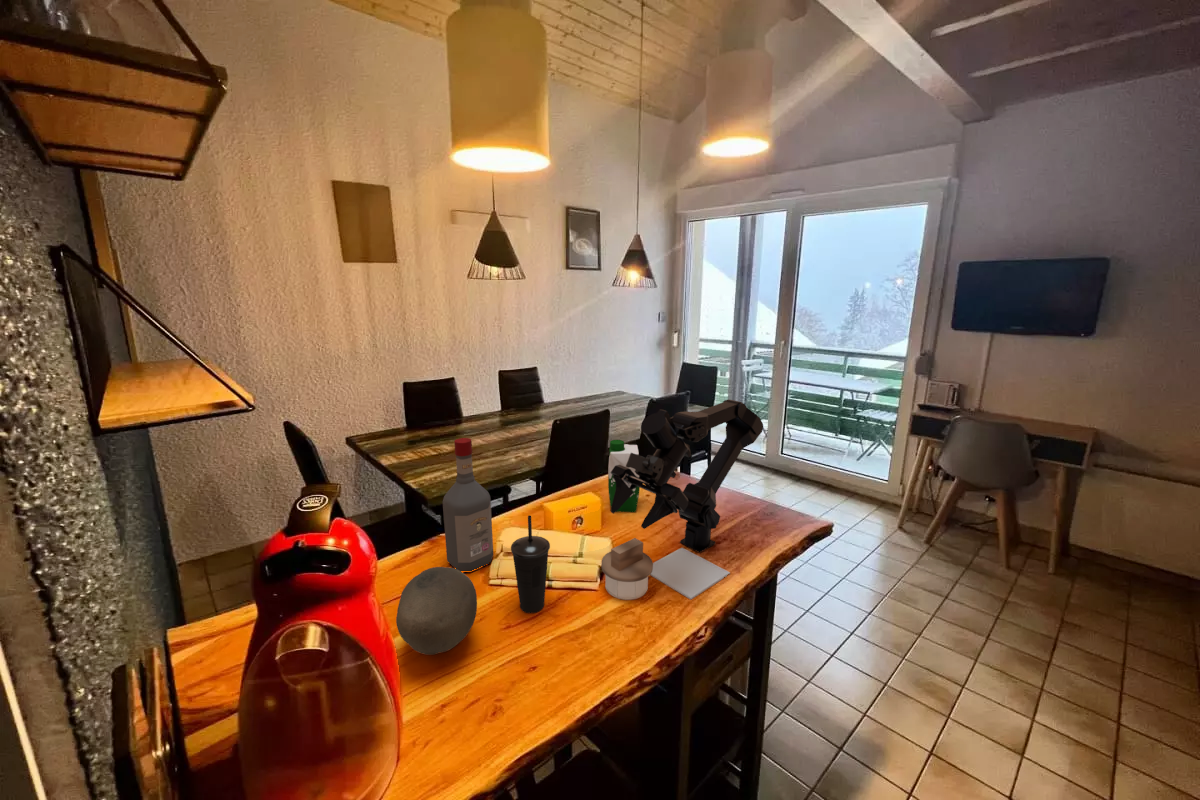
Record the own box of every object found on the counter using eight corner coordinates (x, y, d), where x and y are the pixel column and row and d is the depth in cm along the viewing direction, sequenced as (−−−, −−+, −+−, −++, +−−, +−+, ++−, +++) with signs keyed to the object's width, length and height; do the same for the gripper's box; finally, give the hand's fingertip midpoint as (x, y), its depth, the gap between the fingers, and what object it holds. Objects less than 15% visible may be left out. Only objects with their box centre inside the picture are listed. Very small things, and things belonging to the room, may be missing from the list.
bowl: (626, 570, 113) (627, 550, 112) (655, 588, 106) (656, 567, 105) (597, 585, 107) (597, 565, 106) (626, 606, 101) (626, 584, 99)
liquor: (498, 561, 116) (492, 440, 109) (463, 577, 110) (454, 450, 102) (477, 546, 122) (470, 431, 115) (443, 561, 116) (433, 440, 109)
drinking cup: (557, 598, 103) (555, 510, 98) (541, 621, 96) (538, 528, 91) (524, 590, 105) (521, 504, 100) (506, 613, 98) (502, 521, 93)
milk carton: (608, 500, 148) (608, 436, 143) (638, 500, 148) (639, 437, 143) (608, 513, 140) (608, 447, 135) (639, 514, 139) (641, 447, 135)
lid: (627, 547, 113) (628, 527, 112) (663, 568, 105) (664, 547, 104) (590, 564, 106) (590, 544, 105) (626, 588, 98) (626, 566, 97)
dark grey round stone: (384, 650, 88) (375, 576, 84) (452, 611, 99) (447, 543, 95) (426, 692, 79) (419, 611, 76) (497, 644, 90) (493, 571, 86)
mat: (681, 548, 122) (681, 547, 121) (729, 574, 111) (730, 572, 111) (642, 570, 113) (642, 568, 113) (690, 599, 102) (690, 598, 102)
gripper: (618, 429, 111) (578, 486, 105) (684, 450, 97) (641, 516, 92) (640, 457, 117) (604, 512, 112) (704, 480, 104) (666, 543, 98)
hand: (626, 519), depth 103 cm, fingers open, 9 cm apart
